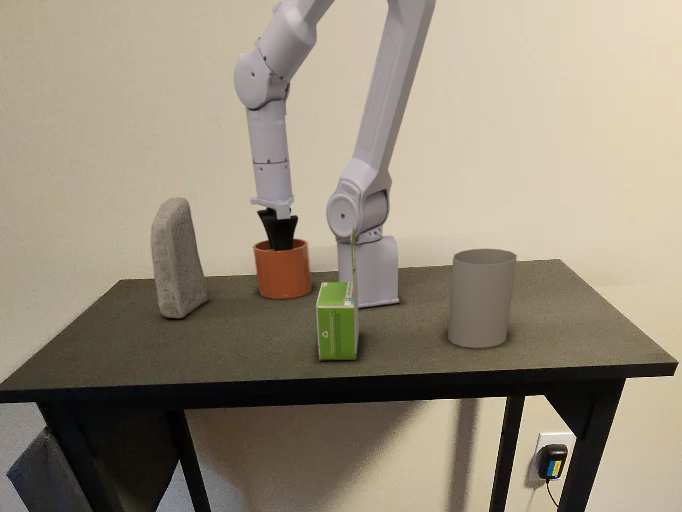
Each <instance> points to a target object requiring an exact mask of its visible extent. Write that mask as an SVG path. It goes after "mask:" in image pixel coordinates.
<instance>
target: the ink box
mask: <svg viewBox="0 0 682 512" xmlns="http://www.w3.org/2000/svg"><path fill="white" fill-rule="evenodd" d="M350 241H351V258H352V278H353V282H339V281H336V282H335V281H329V282H328V281H327V282H325V281H323V282H321V285H320V289H319V292H318V295H317V299H316V304H315V311H316V312H315V313H316V329H317V330H316V331H317V345H318V359H319V362H323V361H356V360H357V355H358V347H359V346H358V345H359V336H360V323H359V322H360V319H359V308H358V288H357V268H356V254H355V239H354V224H353V226H352V232H351V240H350ZM353 246H354V254H353Z"/></svg>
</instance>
